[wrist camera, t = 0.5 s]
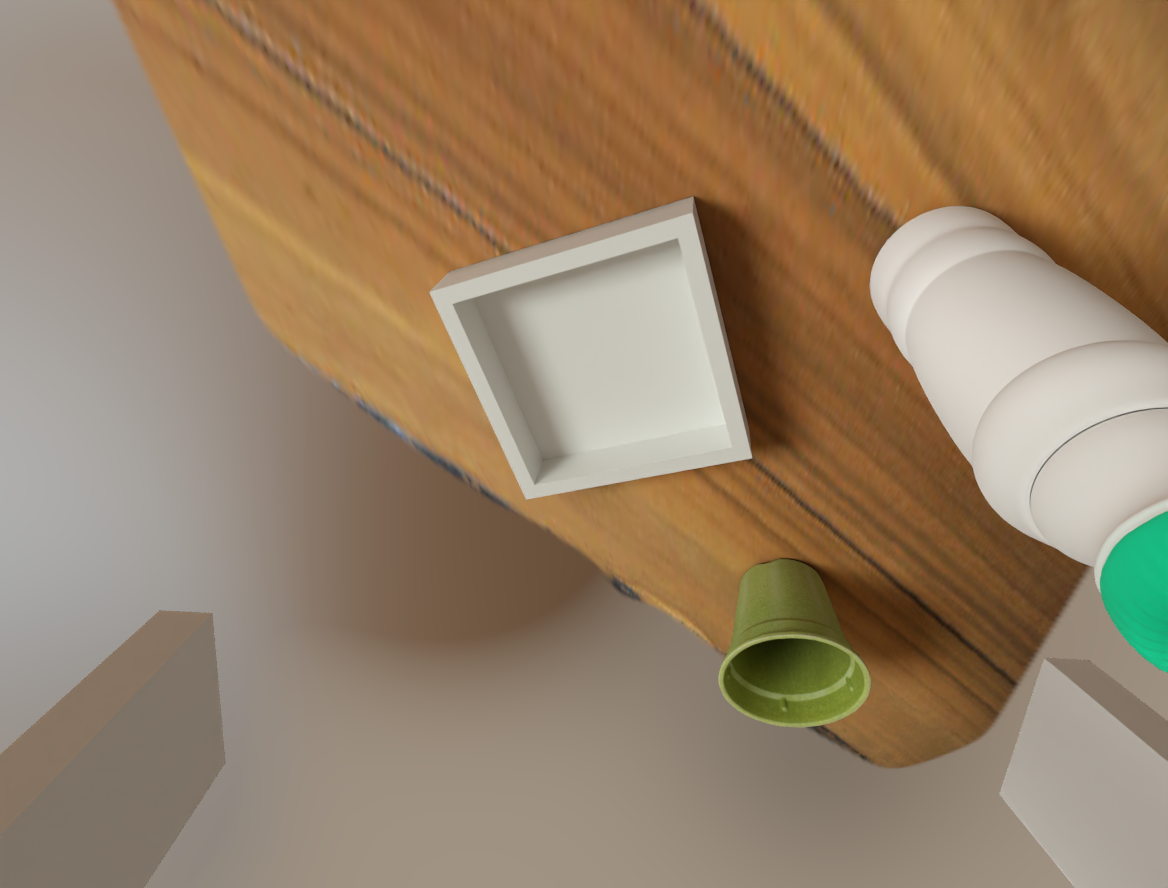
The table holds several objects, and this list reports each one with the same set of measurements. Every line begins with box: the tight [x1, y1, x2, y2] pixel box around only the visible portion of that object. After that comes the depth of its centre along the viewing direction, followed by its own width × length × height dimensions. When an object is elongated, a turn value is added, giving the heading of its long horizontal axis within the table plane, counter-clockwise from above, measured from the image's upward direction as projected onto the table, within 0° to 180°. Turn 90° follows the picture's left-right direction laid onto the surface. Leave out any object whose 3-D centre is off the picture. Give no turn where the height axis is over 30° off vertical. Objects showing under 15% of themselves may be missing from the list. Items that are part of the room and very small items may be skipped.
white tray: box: [429, 196, 752, 499], centre depth 39 cm, size 15×15×4 cm
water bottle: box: [870, 206, 1168, 673], centre depth 25 cm, size 7×7×25 cm
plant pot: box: [719, 559, 871, 727], centre depth 46 cm, size 9×9×9 cm
